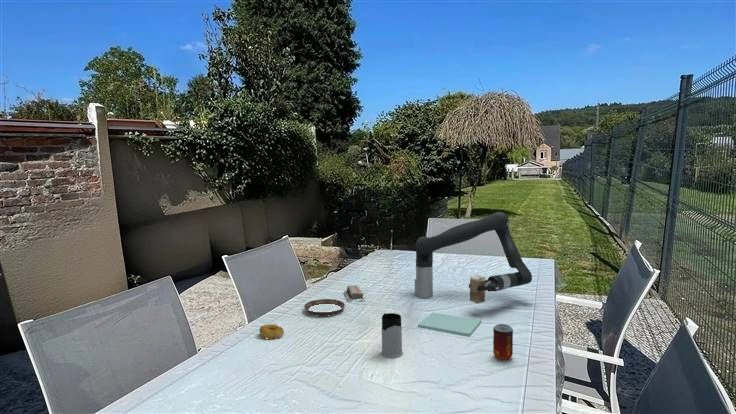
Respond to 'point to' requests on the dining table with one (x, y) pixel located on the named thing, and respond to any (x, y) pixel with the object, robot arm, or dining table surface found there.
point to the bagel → (271, 331)
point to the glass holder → (391, 336)
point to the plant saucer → (324, 301)
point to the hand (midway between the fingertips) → (473, 287)
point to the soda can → (503, 342)
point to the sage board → (450, 324)
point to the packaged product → (353, 293)
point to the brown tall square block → (474, 294)
